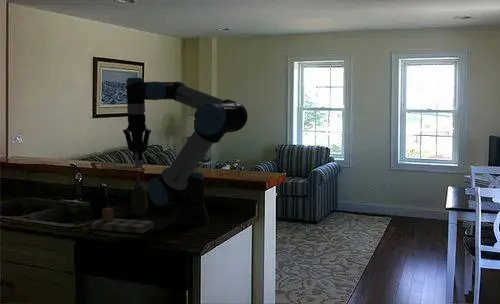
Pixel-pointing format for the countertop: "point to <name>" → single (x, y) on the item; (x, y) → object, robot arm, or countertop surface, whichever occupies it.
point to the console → (124, 225)
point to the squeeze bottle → (138, 199)
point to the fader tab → (107, 214)
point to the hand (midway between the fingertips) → (138, 167)
